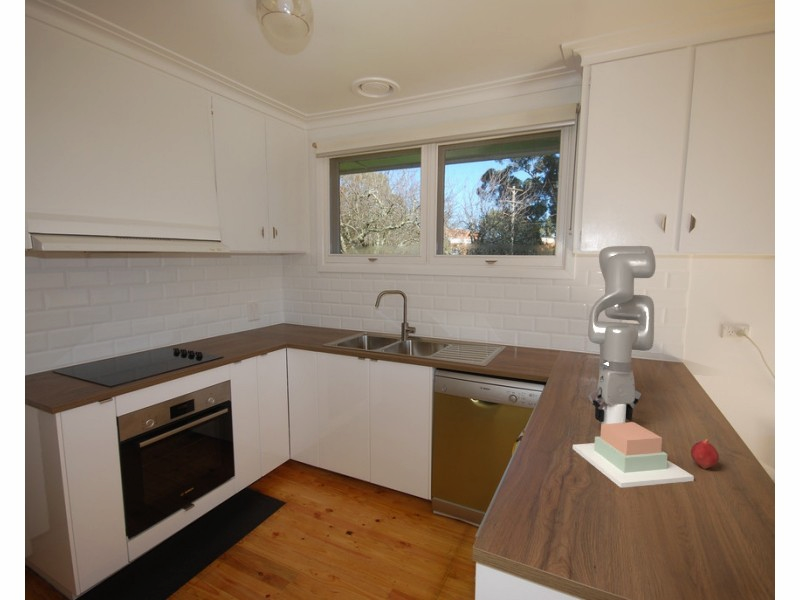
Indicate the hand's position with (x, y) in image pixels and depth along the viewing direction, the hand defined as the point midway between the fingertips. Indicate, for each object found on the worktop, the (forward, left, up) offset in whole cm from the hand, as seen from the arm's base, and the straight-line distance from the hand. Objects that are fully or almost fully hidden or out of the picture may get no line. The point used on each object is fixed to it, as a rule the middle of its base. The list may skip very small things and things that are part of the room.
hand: (613, 419), depth 124 cm
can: (0, 0, -5) cm, 5 cm away
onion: (+22, +10, -5) cm, 24 cm away
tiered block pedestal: (+17, -8, -5) cm, 19 cm away
